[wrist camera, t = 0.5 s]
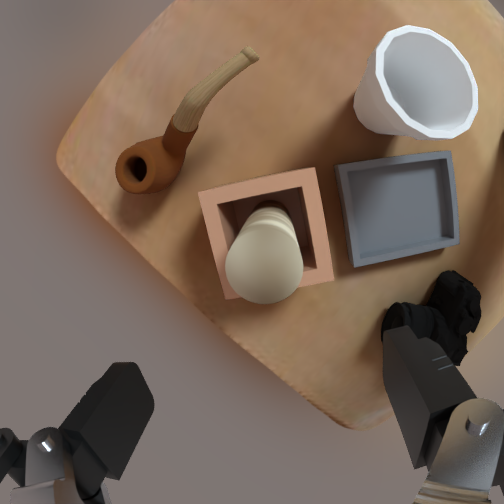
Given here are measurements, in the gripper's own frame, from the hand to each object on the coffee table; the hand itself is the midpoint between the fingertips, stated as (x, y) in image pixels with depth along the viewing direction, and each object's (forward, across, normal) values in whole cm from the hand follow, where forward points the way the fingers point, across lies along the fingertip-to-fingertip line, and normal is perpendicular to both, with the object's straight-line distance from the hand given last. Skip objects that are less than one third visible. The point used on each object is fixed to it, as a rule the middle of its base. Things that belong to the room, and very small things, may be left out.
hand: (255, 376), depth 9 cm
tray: (+26, -15, 0) cm, 30 cm away
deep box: (+26, 0, -1) cm, 26 cm away
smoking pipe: (+26, +6, -13) cm, 30 cm away
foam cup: (+26, -14, -11) cm, 32 cm away
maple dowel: (+25, 0, -1) cm, 25 cm away
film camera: (+26, -16, +15) cm, 35 cm away
